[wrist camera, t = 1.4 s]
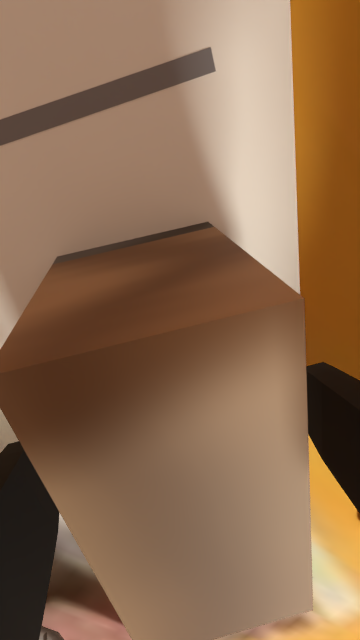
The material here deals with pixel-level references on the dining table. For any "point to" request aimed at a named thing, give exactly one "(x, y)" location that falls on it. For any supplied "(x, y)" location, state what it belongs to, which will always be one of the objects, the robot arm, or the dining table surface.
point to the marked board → (143, 130)
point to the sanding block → (171, 428)
